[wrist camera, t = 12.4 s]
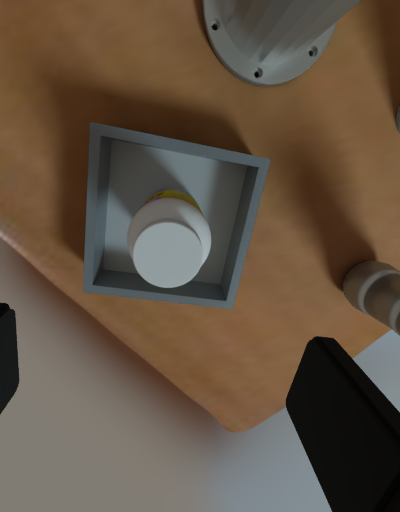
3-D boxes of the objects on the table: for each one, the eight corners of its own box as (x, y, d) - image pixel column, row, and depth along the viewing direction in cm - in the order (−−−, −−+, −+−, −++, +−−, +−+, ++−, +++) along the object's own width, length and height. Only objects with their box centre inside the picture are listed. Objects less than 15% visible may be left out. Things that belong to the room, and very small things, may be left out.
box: (105, 128, 26) (89, 121, 22) (255, 159, 29) (270, 158, 24) (96, 272, 31) (82, 291, 27) (224, 288, 34) (232, 309, 29)
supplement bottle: (164, 174, 28) (155, 182, 16) (213, 211, 29) (239, 244, 17) (129, 225, 29) (97, 267, 17) (178, 257, 31) (180, 317, 19)
